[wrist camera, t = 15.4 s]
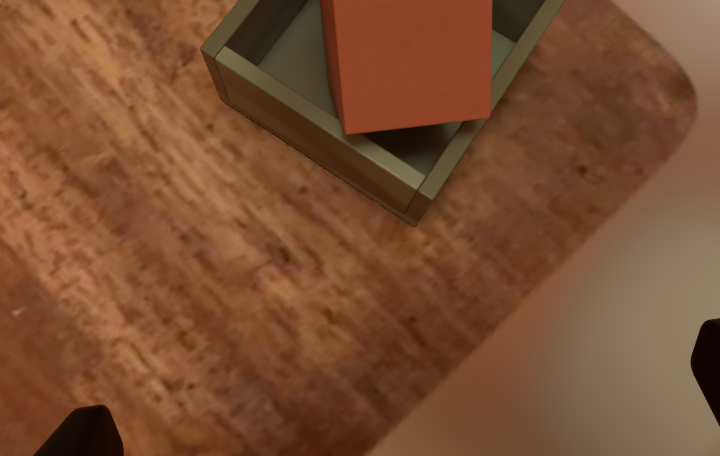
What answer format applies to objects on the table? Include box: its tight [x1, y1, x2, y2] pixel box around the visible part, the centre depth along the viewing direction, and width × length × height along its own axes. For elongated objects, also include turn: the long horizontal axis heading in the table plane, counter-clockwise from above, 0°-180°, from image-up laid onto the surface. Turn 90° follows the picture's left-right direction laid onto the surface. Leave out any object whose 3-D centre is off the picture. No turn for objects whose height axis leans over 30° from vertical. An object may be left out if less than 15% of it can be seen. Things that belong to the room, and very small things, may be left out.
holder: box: [200, 0, 565, 227], centre depth 23 cm, size 9×9×4 cm
